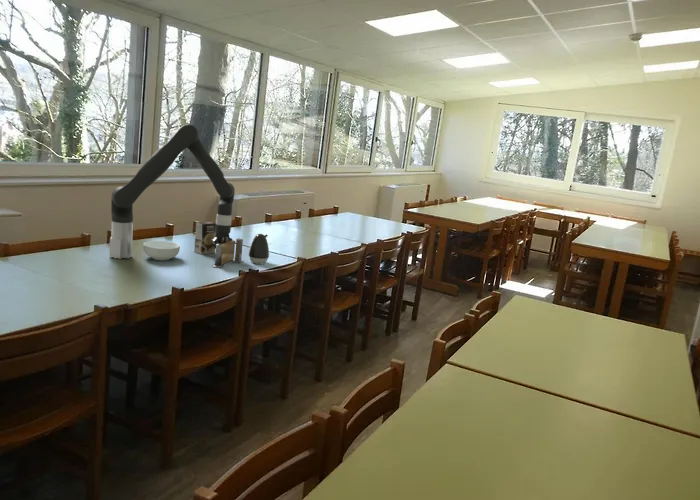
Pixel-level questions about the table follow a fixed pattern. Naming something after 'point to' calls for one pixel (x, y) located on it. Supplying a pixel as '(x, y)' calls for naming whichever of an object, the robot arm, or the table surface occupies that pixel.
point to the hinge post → (218, 256)
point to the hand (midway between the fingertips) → (220, 256)
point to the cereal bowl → (161, 249)
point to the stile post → (238, 251)
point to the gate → (227, 251)
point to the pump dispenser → (259, 249)
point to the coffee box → (204, 237)
